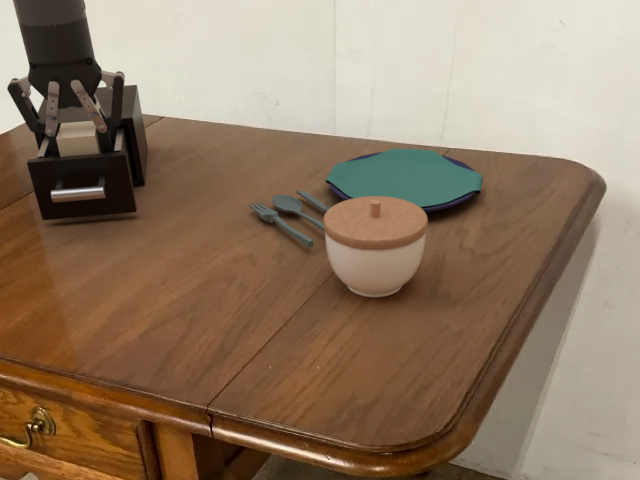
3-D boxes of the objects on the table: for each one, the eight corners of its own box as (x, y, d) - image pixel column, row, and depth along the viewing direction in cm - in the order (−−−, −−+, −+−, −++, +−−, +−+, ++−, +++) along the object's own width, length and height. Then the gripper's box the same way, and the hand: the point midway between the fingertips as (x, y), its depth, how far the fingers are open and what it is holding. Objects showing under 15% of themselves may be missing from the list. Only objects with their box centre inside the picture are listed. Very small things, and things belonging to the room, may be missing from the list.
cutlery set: (510, 199, 100) (512, 182, 99) (312, 262, 88) (312, 244, 86) (417, 153, 113) (418, 138, 112) (235, 202, 101) (233, 185, 100)
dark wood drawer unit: (145, 185, 106) (132, 117, 100) (50, 193, 105) (31, 125, 99) (147, 147, 118) (136, 84, 112) (62, 154, 116) (46, 90, 111)
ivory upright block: (64, 175, 96) (55, 138, 93) (69, 158, 100) (61, 122, 97) (102, 171, 96) (94, 135, 93) (105, 155, 101) (98, 120, 98)
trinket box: (441, 274, 85) (447, 193, 79) (393, 319, 78) (395, 234, 72) (358, 251, 90) (358, 173, 84) (306, 291, 83) (302, 209, 77)
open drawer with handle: (135, 228, 94) (123, 169, 89) (37, 237, 92) (20, 177, 88) (140, 171, 108) (130, 118, 103) (55, 178, 107) (41, 124, 102)
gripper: (-21, 26, 84) (22, 177, 94) (113, 18, 85) (141, 167, 96) (-8, 11, 89) (31, 155, 100) (117, 3, 91) (143, 146, 102)
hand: (85, 160), depth 98 cm, fingers closed on ivory upright block, 4 cm apart
